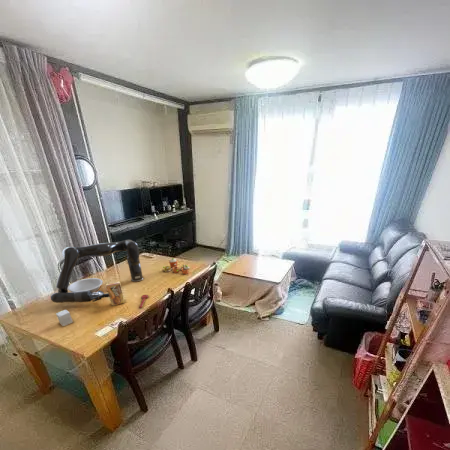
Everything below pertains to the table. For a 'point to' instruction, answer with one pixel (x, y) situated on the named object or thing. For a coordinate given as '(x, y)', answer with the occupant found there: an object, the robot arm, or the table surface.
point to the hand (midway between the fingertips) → (109, 295)
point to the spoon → (143, 300)
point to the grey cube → (64, 317)
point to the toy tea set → (176, 269)
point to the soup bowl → (86, 285)
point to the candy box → (115, 293)
